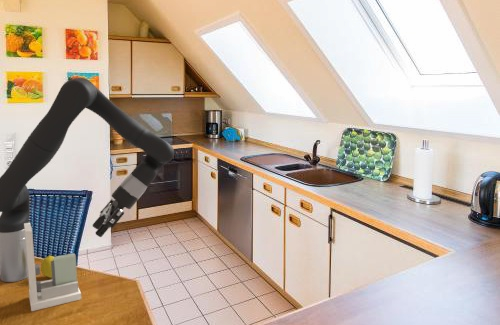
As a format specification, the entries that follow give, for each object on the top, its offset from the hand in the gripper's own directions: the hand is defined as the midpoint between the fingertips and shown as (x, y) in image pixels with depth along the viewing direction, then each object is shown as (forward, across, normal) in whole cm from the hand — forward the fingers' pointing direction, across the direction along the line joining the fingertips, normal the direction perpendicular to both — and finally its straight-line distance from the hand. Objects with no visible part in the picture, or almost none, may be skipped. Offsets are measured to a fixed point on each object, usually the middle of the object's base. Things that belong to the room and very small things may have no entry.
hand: (96, 231), depth 125 cm
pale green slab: (+19, +1, +4) cm, 20 cm away
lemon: (+23, -14, +2) cm, 27 cm away
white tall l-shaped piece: (+23, +1, +3) cm, 23 cm away
